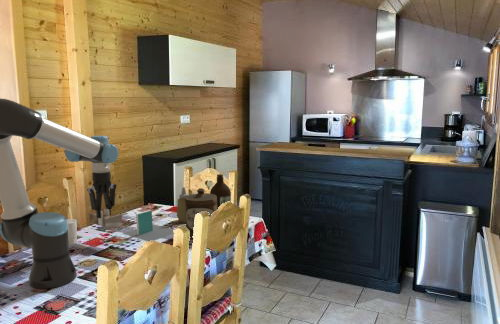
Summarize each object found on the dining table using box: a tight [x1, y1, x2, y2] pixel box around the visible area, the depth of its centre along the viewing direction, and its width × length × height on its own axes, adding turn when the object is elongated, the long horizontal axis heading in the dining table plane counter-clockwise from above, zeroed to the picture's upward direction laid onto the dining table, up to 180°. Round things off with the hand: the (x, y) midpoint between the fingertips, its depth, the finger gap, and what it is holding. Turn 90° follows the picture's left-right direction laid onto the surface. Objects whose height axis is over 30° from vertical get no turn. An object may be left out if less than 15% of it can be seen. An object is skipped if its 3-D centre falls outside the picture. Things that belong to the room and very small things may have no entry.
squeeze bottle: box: [176, 186, 190, 224], centre depth 216 cm, size 8×8×18 cm
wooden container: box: [185, 188, 217, 239], centre depth 195 cm, size 15×15×22 cm
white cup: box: [66, 218, 78, 246], centre depth 186 cm, size 8×8×10 cm
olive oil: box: [209, 173, 232, 209], centre depth 213 cm, size 11×11×25 cm
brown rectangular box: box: [88, 211, 123, 231], centre depth 186 cm, size 17×8×5 cm, turn 53°
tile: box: [135, 209, 153, 235], centre depth 197 cm, size 8×2×10 cm, turn 143°
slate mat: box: [122, 223, 174, 242], centre depth 199 cm, size 18×20×1 cm
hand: (104, 223), depth 185 cm, fingers closed on brown rectangular box, 2 cm apart
